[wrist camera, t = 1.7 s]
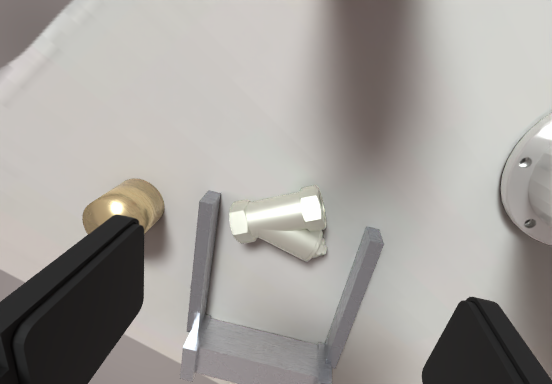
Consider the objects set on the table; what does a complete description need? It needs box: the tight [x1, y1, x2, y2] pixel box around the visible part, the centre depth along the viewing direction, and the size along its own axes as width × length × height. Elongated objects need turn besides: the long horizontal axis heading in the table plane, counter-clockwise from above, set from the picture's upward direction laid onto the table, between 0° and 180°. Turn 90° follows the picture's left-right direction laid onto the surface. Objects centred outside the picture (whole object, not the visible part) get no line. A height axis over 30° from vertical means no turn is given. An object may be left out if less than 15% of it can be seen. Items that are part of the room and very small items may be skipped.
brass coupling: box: [83, 179, 164, 234], centre depth 30 cm, size 5×5×5 cm
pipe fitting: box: [229, 185, 327, 261], centre depth 29 cm, size 8×4×7 cm
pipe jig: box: [180, 191, 384, 384], centre depth 32 cm, size 16×20×5 cm
